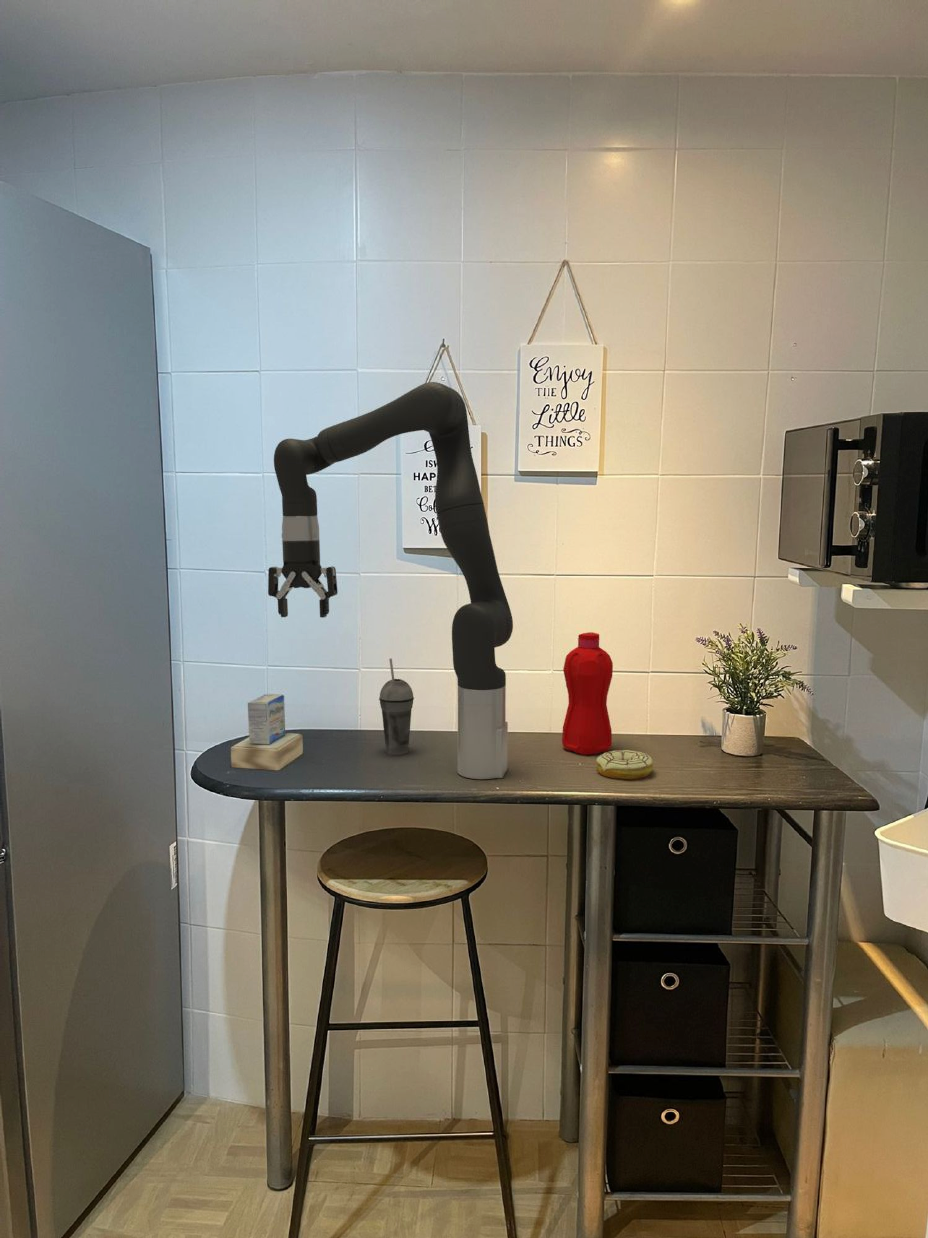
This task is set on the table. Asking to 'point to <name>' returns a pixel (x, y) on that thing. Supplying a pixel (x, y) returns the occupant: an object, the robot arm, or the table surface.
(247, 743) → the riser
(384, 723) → the beverage cup
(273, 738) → the medicine box
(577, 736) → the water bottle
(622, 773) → the decorated donut
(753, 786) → the table surface
